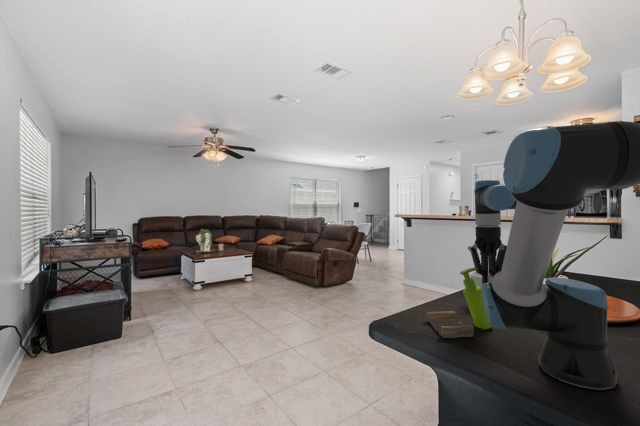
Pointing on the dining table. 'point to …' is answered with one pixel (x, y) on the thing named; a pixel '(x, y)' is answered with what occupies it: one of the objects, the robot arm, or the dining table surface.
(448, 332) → the cradle
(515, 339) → the dining table surface
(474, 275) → the foam cup
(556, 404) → the dining table surface
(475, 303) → the soap dispenser
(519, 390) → the dining table surface
